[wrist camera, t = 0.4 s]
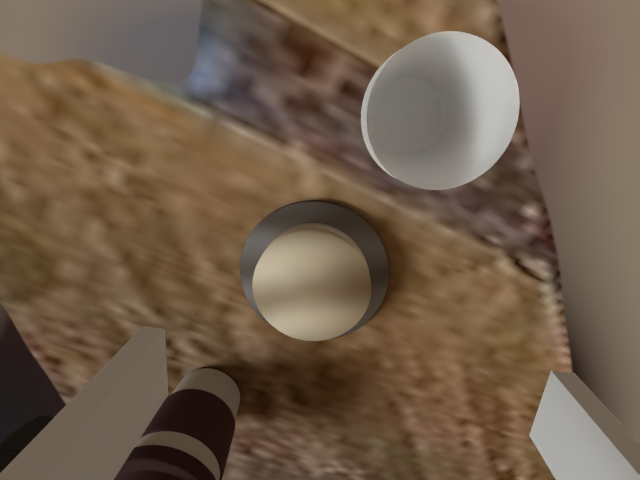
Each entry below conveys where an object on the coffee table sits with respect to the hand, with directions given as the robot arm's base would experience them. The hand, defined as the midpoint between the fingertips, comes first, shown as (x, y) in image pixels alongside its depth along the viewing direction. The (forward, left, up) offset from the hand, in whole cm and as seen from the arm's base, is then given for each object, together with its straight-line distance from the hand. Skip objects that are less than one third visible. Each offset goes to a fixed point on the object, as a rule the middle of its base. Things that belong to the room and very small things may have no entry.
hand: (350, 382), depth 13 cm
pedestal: (+6, -4, -24) cm, 25 cm away
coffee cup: (+20, -18, -24) cm, 36 cm away
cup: (-8, +6, -24) cm, 26 cm away
